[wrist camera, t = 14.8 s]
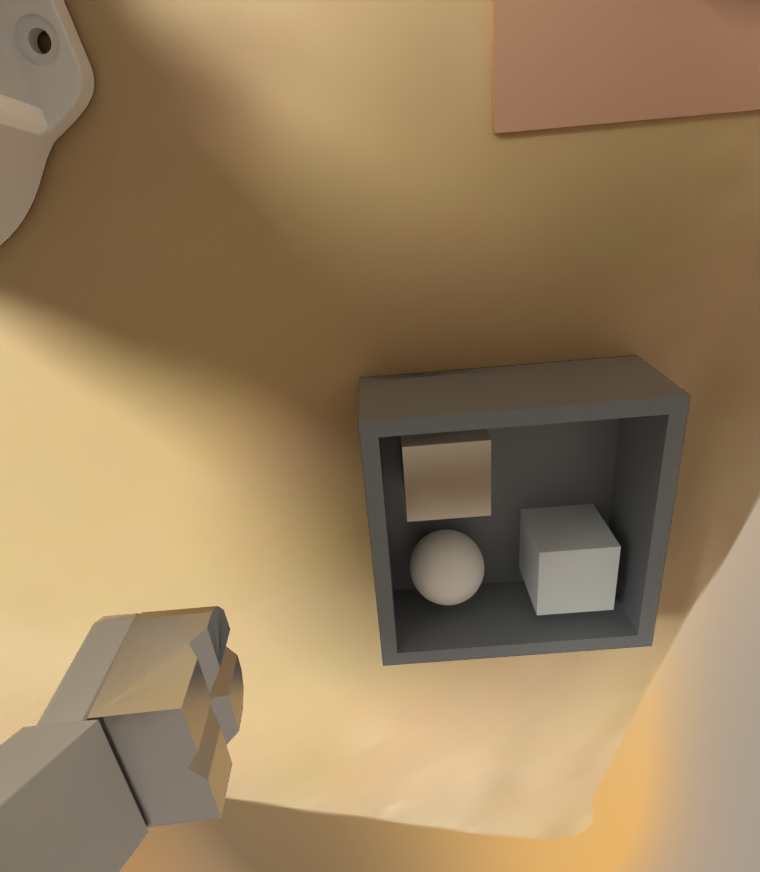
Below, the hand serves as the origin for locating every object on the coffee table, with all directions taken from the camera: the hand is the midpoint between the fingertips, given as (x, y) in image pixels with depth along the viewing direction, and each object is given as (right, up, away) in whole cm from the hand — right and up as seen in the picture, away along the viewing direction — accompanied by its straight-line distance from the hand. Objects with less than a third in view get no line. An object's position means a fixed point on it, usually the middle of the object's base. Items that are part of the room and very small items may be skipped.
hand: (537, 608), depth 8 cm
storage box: (+4, -1, +25) cm, 26 cm away
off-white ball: (+2, -4, +26) cm, 27 cm away
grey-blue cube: (+8, -3, +26) cm, 28 cm away
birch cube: (+1, +2, +23) cm, 24 cm away
